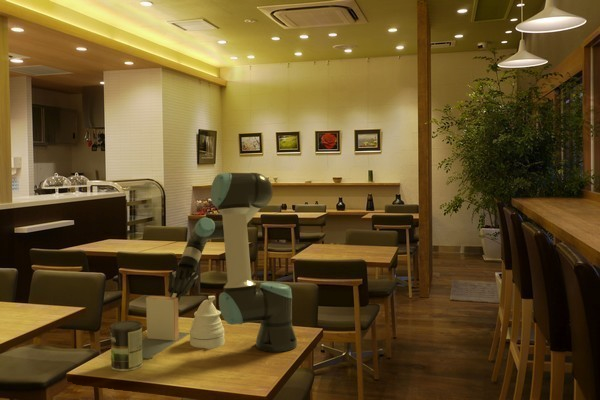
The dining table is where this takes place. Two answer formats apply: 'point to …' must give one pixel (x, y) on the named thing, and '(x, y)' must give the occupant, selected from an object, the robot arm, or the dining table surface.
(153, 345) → the mat
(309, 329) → the dining table surface
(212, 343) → the honey pot
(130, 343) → the coffee can
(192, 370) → the dining table surface
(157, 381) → the dining table surface
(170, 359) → the dining table surface
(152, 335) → the tile
